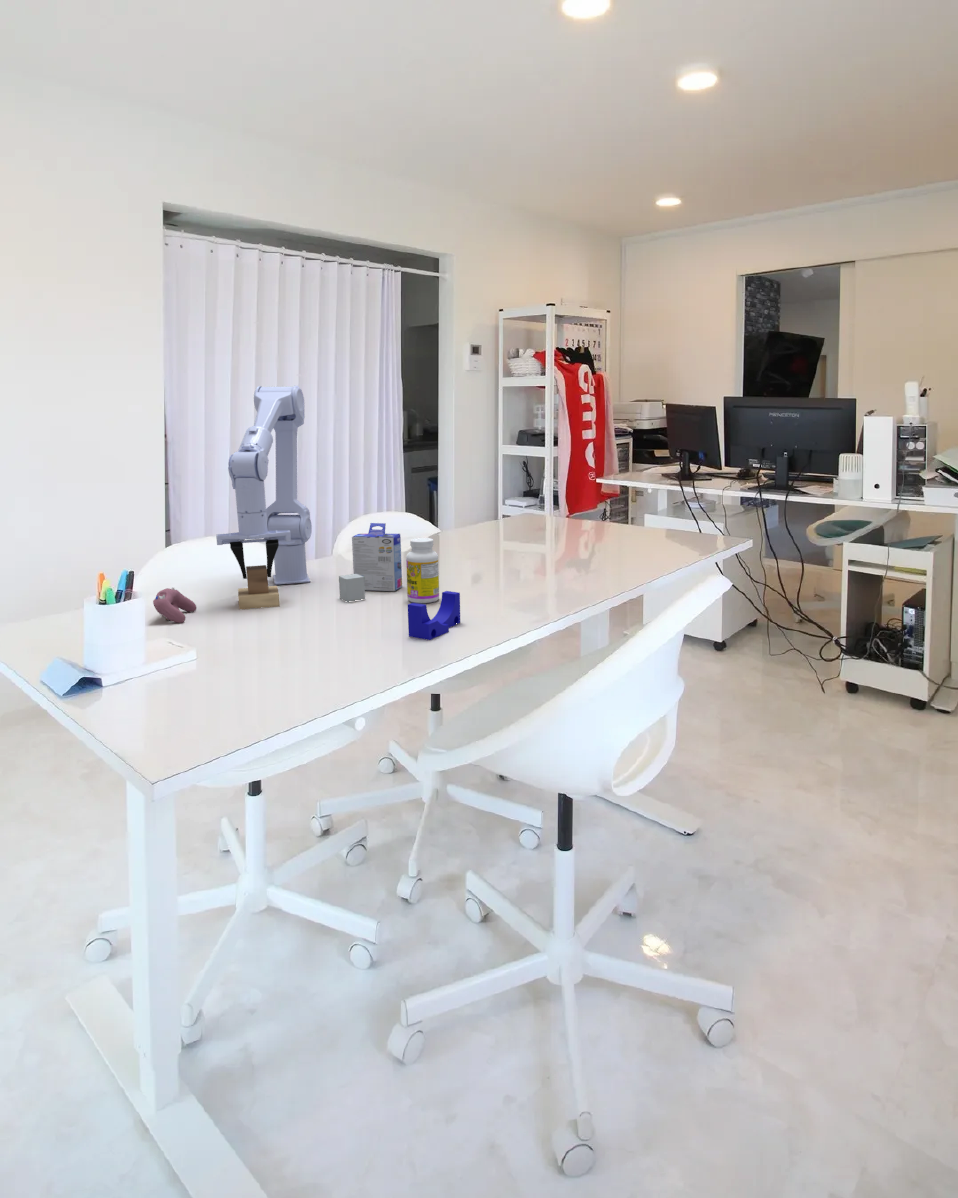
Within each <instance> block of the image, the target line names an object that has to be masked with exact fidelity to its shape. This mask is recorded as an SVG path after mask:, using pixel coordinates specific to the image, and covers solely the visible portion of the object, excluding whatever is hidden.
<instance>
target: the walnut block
mask: <svg viewBox="0 0 958 1198" xmlns="http://www.w3.org/2000/svg"><path fill="white" fill-rule="evenodd" d="M245 568H246V576H247V579H246V581H247V588H248V594H260V593H269V590H268V586H269V580H268V579H269V577H268V576H267V564H266V565H265V564H264V565H261V564H260V565H251V566H250V565H249V566H246V565H245Z"/></svg>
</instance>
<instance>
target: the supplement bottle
mask: <svg viewBox="0 0 958 1198" xmlns="http://www.w3.org/2000/svg"><path fill="white" fill-rule="evenodd" d="M409 546H410V548H411V551H409V552H408V553H407V554H406V557H405V558H406V560H405V561H406V594H407V600H408V601H409V602H411V603H418V604H431V603H435V602H437V601H438V600H439V598H440V580H439V579H440V578H439V577H440V576H439V575H440V572H439V555H438V553H437V552H436V551H435V550H434V549H433V547H434V539H433V538H429V537H419V538H417V537H415V538H412V539H410V545H409Z"/></svg>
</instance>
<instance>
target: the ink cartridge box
mask: <svg viewBox="0 0 958 1198" xmlns="http://www.w3.org/2000/svg"><path fill="white" fill-rule="evenodd" d="M375 527H380V528H382V529H373V528H375ZM351 542H352V543H351V544H352V545H351V546H352V566H353V567H352V570H353V571H352V572H353V573H352V574H358V575H361V576H363V577H364V587H365V591H374V592H375V591H380V592H396V591H397V590H400V589H401V588H403V578H402V577H403V573H402V569H403V568H402V567H403V566H402V545H401V542H402V541H401V533H386V523H385V522H383V523H382V522H380V523H379V522H377V523H376V522H370V525H369V529H368V533H357V534H355V535H353V536H352V537H351Z"/></svg>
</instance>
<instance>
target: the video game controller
mask: <svg viewBox="0 0 958 1198" xmlns="http://www.w3.org/2000/svg"><path fill="white" fill-rule="evenodd" d="M152 604H153V607H154V609H155V610H156V611H157V613H158V614H159V615H161V616H163V617H164V618H166V619H167V620H168V621H171V622H173V623H176V624H184V622H185V621H186V616H185V614H184V613H183V611H184V612H188V613H194V612H196V611H197V604H196V603H195V602H194V601H193V600H191V599H190V598H188V597H187V596H185V595H184V594H183V593H181V592H180V591H179V590H178V589H175V587H171V588H165V589H162V590H159V591H158V592H157V594H156V595H155V598H154V599H153V600H152Z"/></svg>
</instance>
